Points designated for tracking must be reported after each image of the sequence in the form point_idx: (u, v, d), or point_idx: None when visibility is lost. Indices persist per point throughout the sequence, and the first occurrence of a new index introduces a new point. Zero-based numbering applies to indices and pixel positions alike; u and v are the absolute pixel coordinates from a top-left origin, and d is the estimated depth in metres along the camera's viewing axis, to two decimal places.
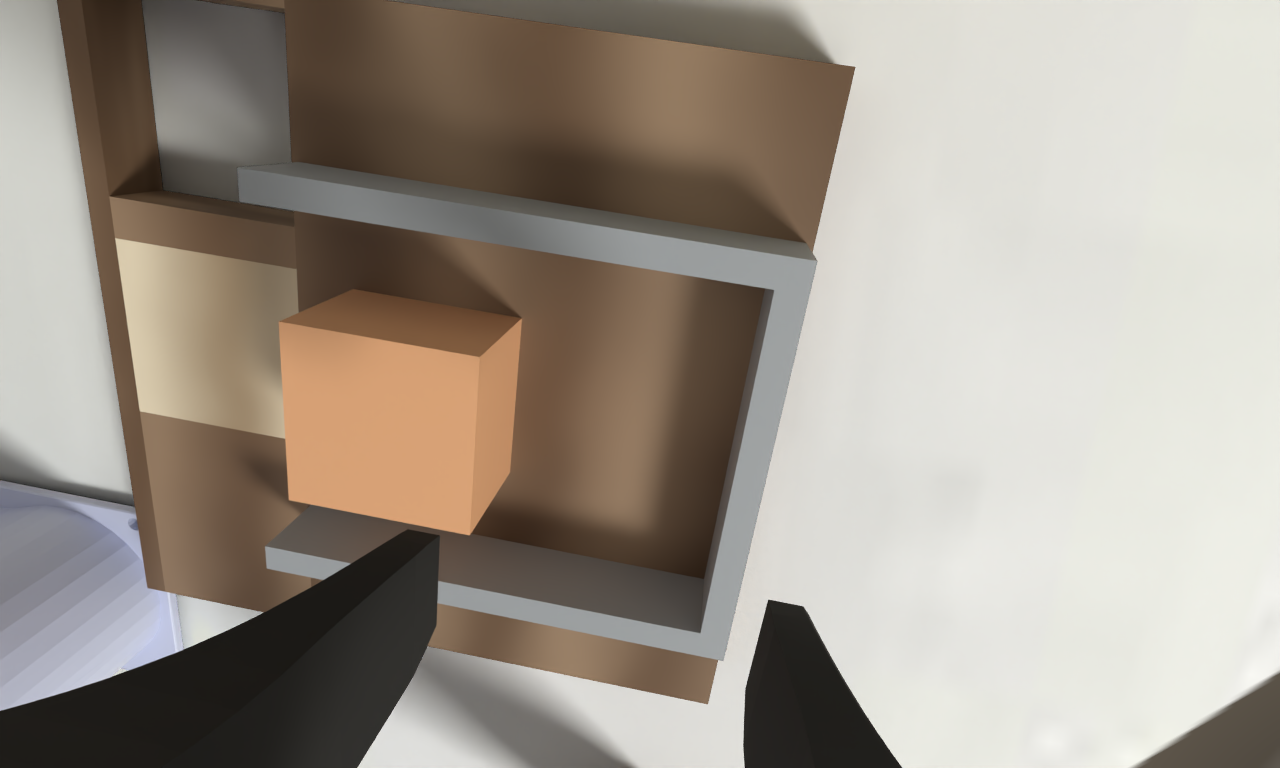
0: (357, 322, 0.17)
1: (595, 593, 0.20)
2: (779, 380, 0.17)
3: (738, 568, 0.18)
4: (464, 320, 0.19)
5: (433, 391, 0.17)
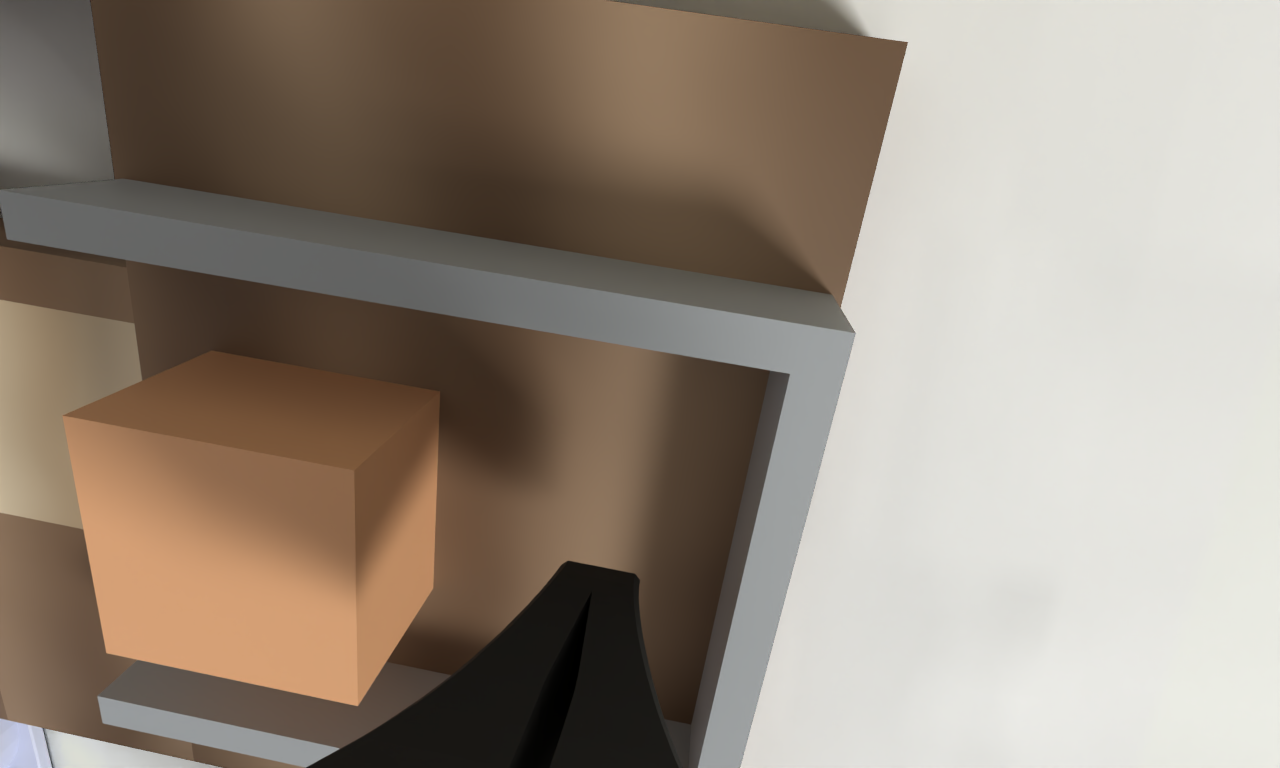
0: (188, 410, 0.12)
1: None
2: (796, 500, 0.11)
3: (736, 745, 0.13)
4: (353, 400, 0.13)
5: (292, 516, 0.11)
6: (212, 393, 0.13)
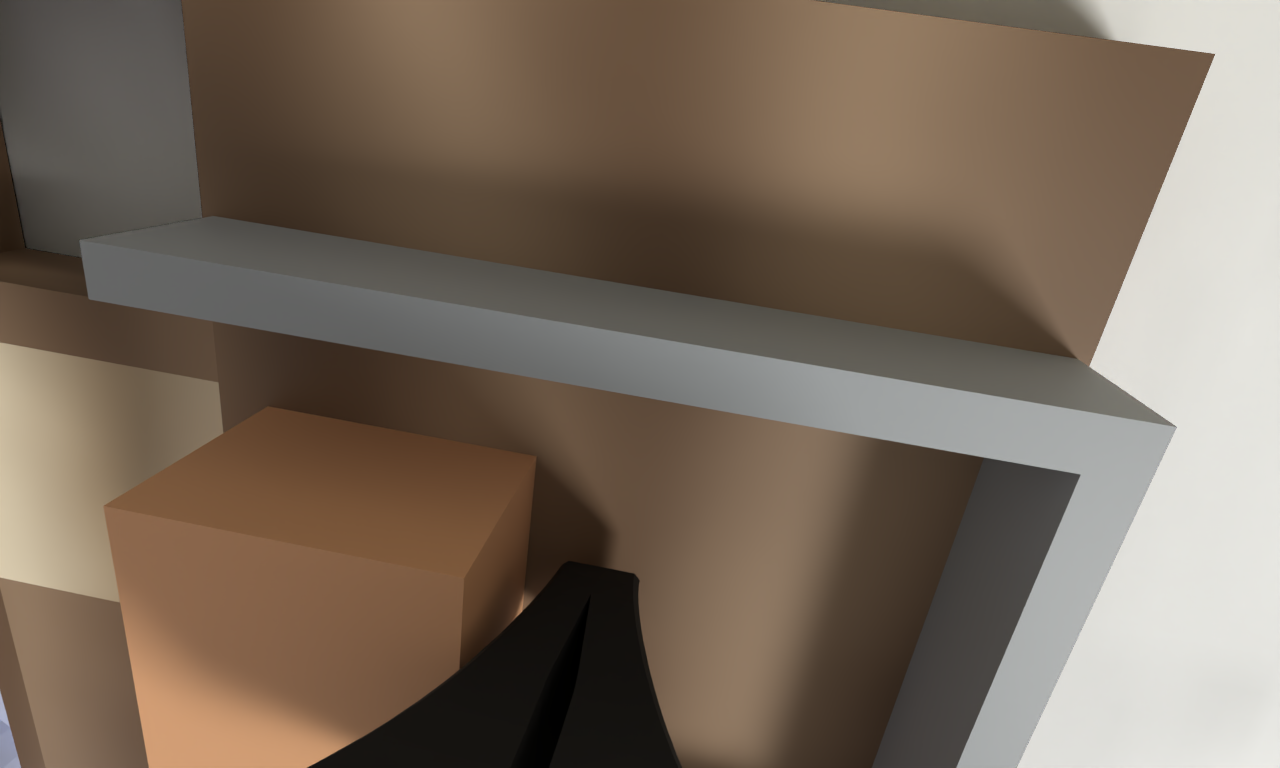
0: (253, 492, 0.10)
1: None
2: (1065, 623, 0.09)
3: None
4: (441, 472, 0.11)
5: (382, 627, 0.09)
6: (277, 467, 0.11)
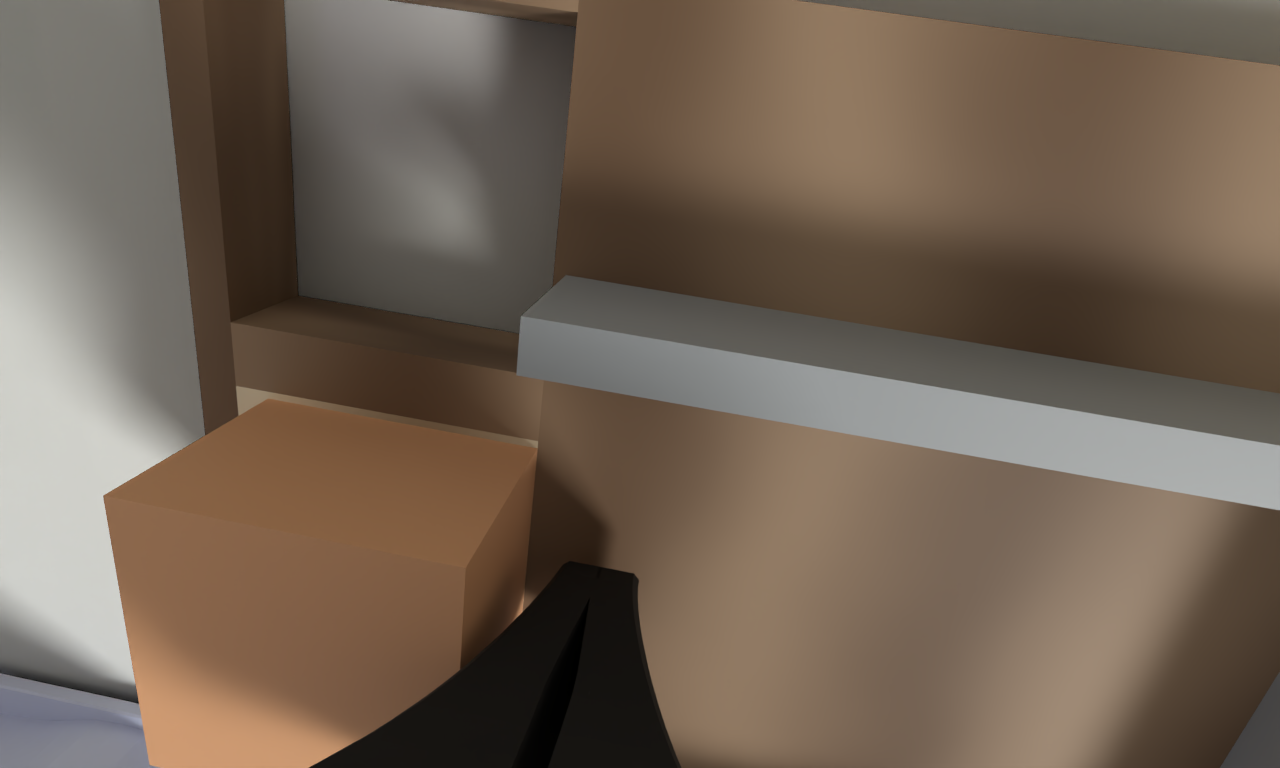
0: (254, 483, 0.10)
1: None
2: None
3: None
4: (442, 464, 0.11)
5: (383, 617, 0.09)
6: (277, 458, 0.11)
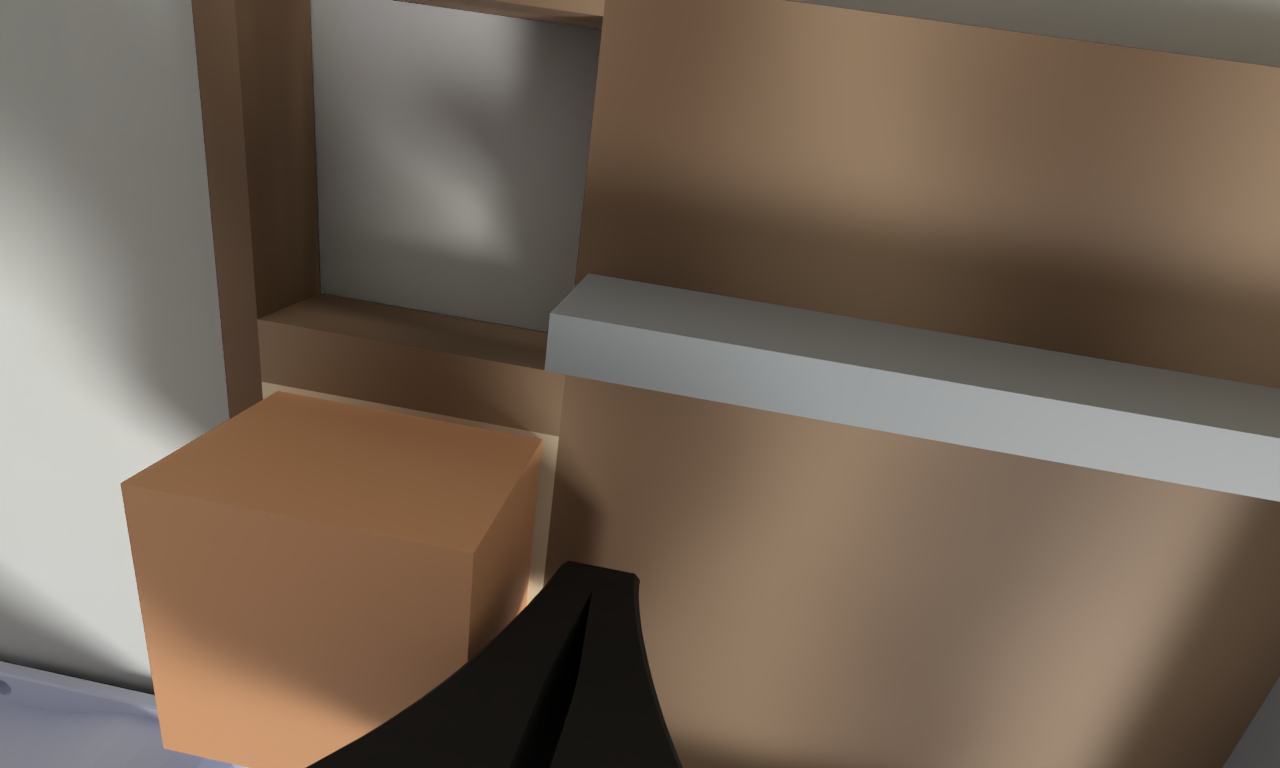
0: (266, 472, 0.10)
1: None
2: None
3: None
4: (449, 454, 0.11)
5: (393, 602, 0.10)
6: (289, 448, 0.11)
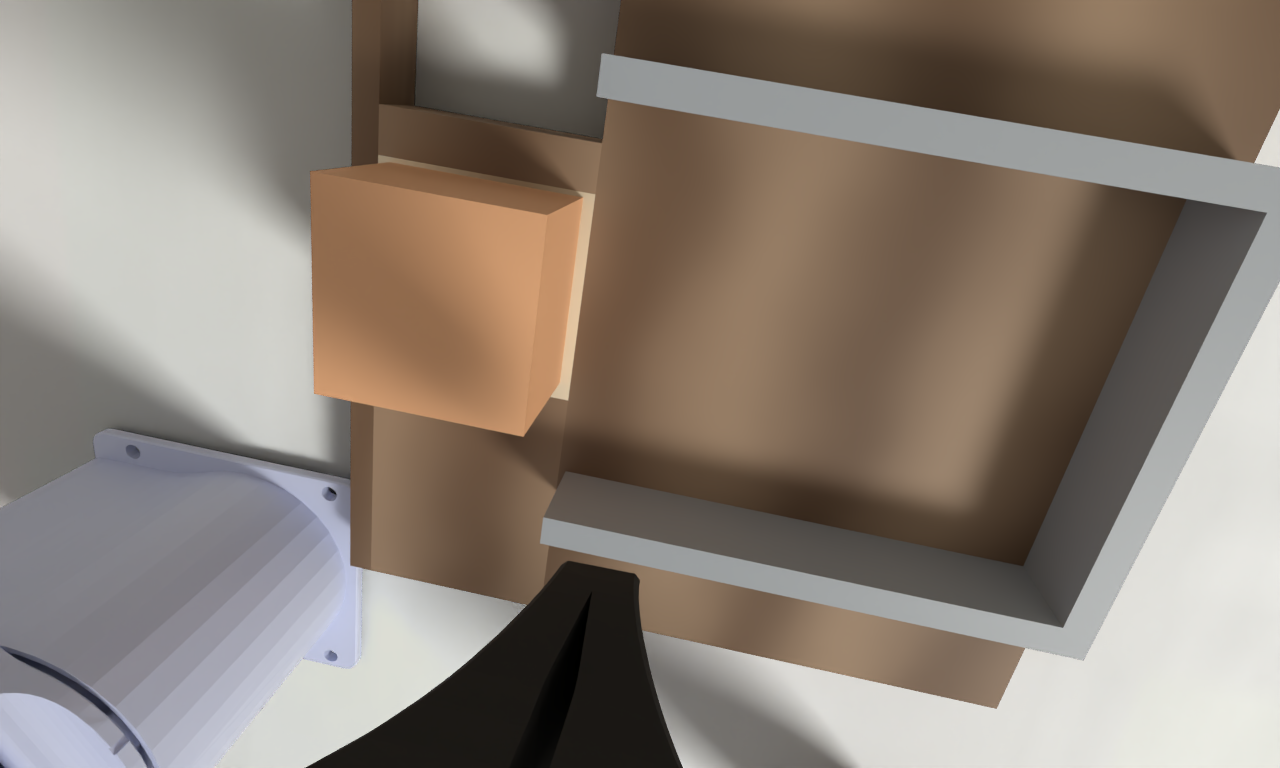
0: (400, 180, 0.15)
1: (922, 579, 0.18)
2: (1243, 325, 0.14)
3: (1131, 552, 0.16)
4: (520, 192, 0.16)
5: (490, 257, 0.14)
6: (410, 177, 0.16)
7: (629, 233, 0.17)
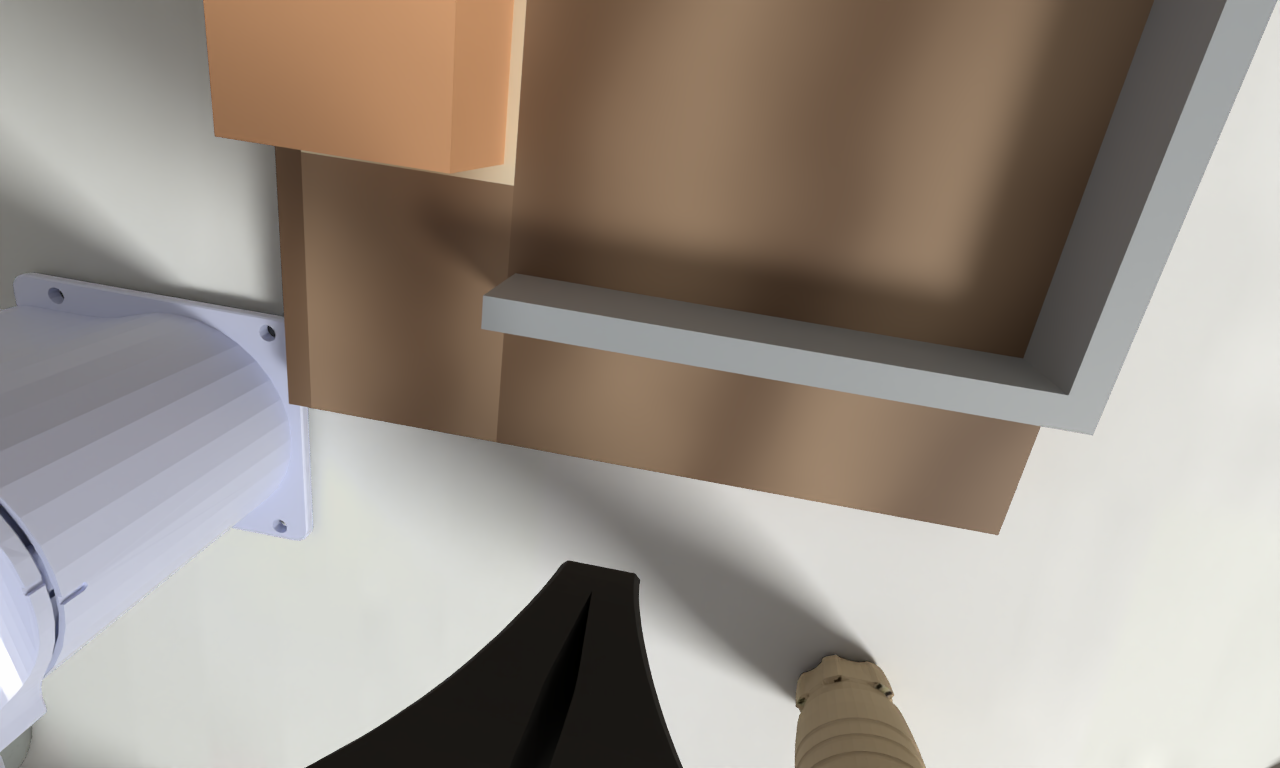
0: None
1: (909, 357, 0.16)
2: None
3: (1144, 292, 0.14)
4: None
5: None
6: None
7: None
